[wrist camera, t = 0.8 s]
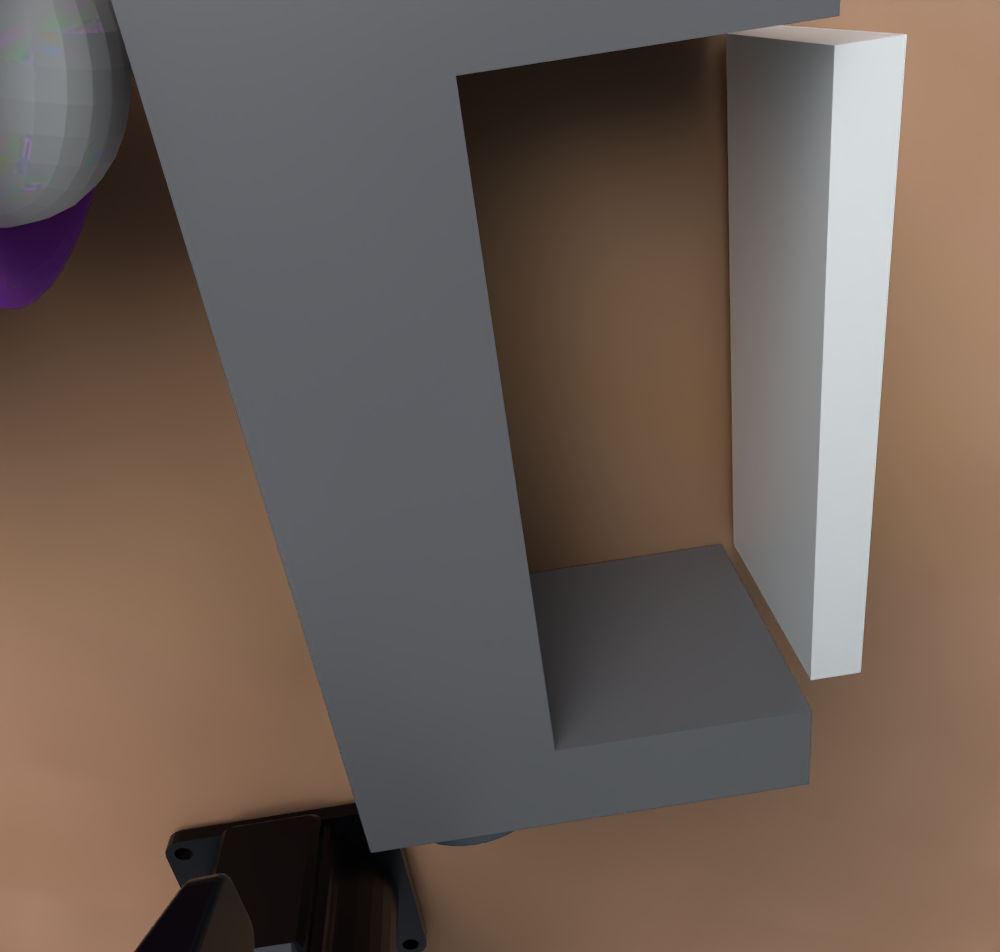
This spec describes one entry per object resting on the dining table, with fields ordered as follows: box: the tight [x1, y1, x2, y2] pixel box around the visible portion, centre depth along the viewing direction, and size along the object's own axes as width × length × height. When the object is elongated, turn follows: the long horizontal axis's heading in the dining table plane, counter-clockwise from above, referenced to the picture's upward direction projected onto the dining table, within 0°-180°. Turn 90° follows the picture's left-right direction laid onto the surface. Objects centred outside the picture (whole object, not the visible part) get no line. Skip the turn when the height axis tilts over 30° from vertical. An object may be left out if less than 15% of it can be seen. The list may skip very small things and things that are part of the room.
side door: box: [726, 25, 907, 680], centre depth 17 cm, size 11×1×5 cm, turn 8°
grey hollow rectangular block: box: [111, 0, 840, 853], centre depth 17 cm, size 17×9×6 cm, turn 8°
